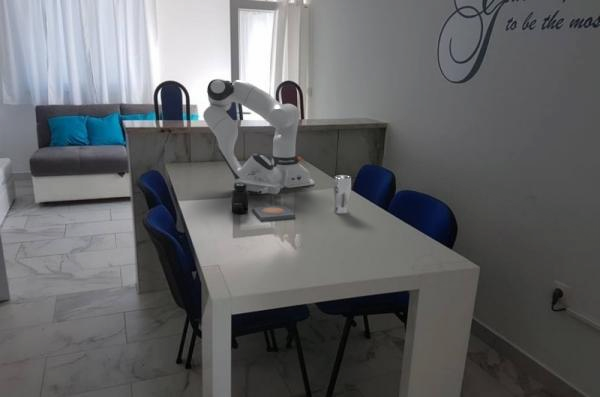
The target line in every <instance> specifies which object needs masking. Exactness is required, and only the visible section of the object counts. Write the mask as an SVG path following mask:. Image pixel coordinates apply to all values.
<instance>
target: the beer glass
mask: <svg viewBox="0 0 600 397" xmlns="http://www.w3.org/2000/svg"><path fill="white" fill-rule="evenodd" d="M351 190H352V177H351V176H350V175H345V174H339V175H338V174H337V175H335V176H334V181H333V196H334V209H333V213H334V214H337V215H347V214H348V213H349V199H350V195H351Z"/></svg>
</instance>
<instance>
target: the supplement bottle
mask: <svg viewBox="0 0 600 397" xmlns="http://www.w3.org/2000/svg"><path fill="white" fill-rule="evenodd" d="M249 195H250V194H249V191H248V190H246V183H243V182H237V183H235V182H234V184H233V189H232V190H231V200H230V201H231V202H230V203H231V205H230V206H231V207H230V208H231V209H230V211H231V213H232V214H234V215H246V214H247V213H249Z"/></svg>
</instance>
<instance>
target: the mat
mask: <svg viewBox="0 0 600 397" xmlns="http://www.w3.org/2000/svg"><path fill="white" fill-rule="evenodd" d="M251 211H253V212H252V213H253V214H254V215H255V216H256V218H257V219H258V220H259V219H260V220H261V221H260V220H259V221H260V222H263V221H262V220H269V221H277V220H289V219H296V214H295V213H294V211H292V210H291V209H290V208H288V207H287V206H286V204H282V205H269V206H256V207H251Z"/></svg>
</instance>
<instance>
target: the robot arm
mask: <svg viewBox="0 0 600 397" xmlns="http://www.w3.org/2000/svg"><path fill="white" fill-rule="evenodd" d="M206 93H207V98H208V103H209V106H208V107H207V108H206V109H204V111H203V114H202V115H203V116H202V117H203V120H204V121H205V123H206V125H207V126H208V128H209V129H210V130H211V132H212V133H213V134H214V136H215V138H216V141H217V143H218V146H217V149H218V152H219V153H220V156H221V157H222V159H223V161H224V162H225V163H226V166H227V167H228V169H229V170H230V171H231V173H232V175H233V177H234V183H237V182H243V183H246V190H247V191H248V192H249V191H250V192H255V193H256V192H257V193H258V194H261V195H263V194H270V195H278V194H279V193H280V192H281V189H283V188H287V189H288V188H289V189H292V188H299V187H307V186H313V185H315V181H314V180H313V179H312V178H311V176H310V172H309V171H308V169H307V168H305V167H304V166H303V165H301V164H300V163H299V162H302V161H303V158H302V157H300V156H297V155H296V142H297V140H296V139H297V135H298V130H299V129H298V128H299V121H300V116H301V112H300V110H299V108H298V106H296V105H294V104H292V103H284V104H283V103H281V102H279V101H278V100H277V99H275V98H274V97H273V96H272V95H271V94H270V93H268V92H266V91H264V90H262V89H261V88H259V87H257V86H256V85H253V84H252V83H249V82H246V81H244V80H242V79H235V80H234V81H233V82H231V81H230V80H225V79H222V78H215V79H212V80H211V81H210V82H209V83H208V85H207V88H206ZM233 103H237V104H240V105H242V106H243V107H245V108H246V109H248V110H250V111H252V112H253V113H255V114H257V115H259V116H260V117H261V118H262V119H264V120H265V121H266V122H267V123H269V124H270V126H271V127H273V128H274V129H275V131H274V136H273V139H272V140H273V141H272V155H271V159H270V158H269V157H267V156H266V155H265V154H263V153H258V152H257V153H256V152H255V153H253V154H252V155H251V156H250V157H248V159H247V160H246V162H245V163H244V164H243V165H241V163H240V162H239V161H238V159H237V157H236V155H235V151H234V149H235V144H236V142H237V139H238V136H239V128H238V125H237V123H236V122H235V120H234V119H233V118H232V117H231V116H230V115H229V112H230V111H231V109H232V107H233Z"/></svg>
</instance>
